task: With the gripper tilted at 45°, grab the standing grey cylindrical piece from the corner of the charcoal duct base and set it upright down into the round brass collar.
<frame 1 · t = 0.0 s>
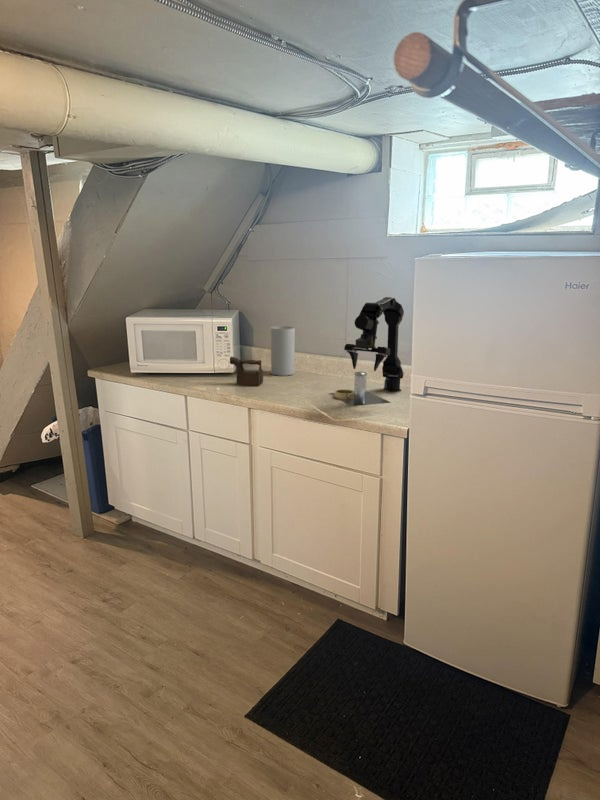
hand: (364, 370, 232), 15 cm above the counter, tool pointing down, fingers open, 9 cm apart
grey cylindrical piece: (359, 402, 237), point 1 cm above the counter, touching duct base
clothes iron: (248, 384, 275), on the counter
duct base: (358, 399, 246), on the counter
cylinder vase: (282, 374, 299), on the counter
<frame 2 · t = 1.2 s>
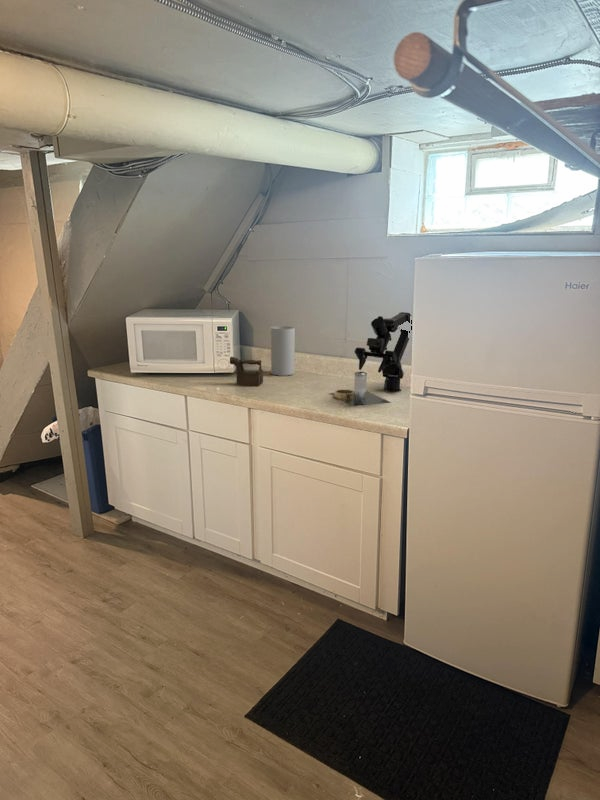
hand: (369, 370, 240), 14 cm above the counter, tool tilted 45°, fingers open, 9 cm apart
nothing on the counter moved.
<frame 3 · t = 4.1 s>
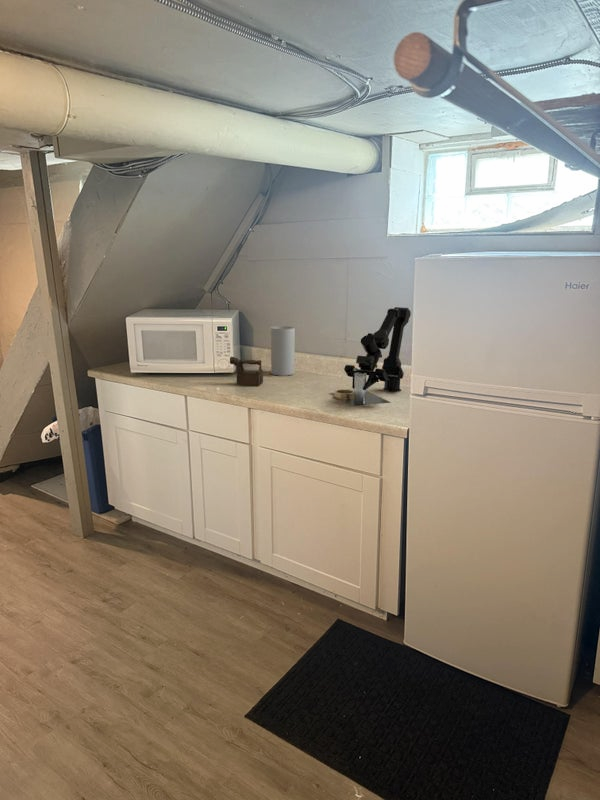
hand: (358, 389, 234), 7 cm above the counter, tool tilted 45°, fingers closed on grey cylindrical piece, 5 cm apart
grey cylindrical piece: (359, 402, 237), point 1 cm above the counter, touching duct base, gripper
everything else where it was.
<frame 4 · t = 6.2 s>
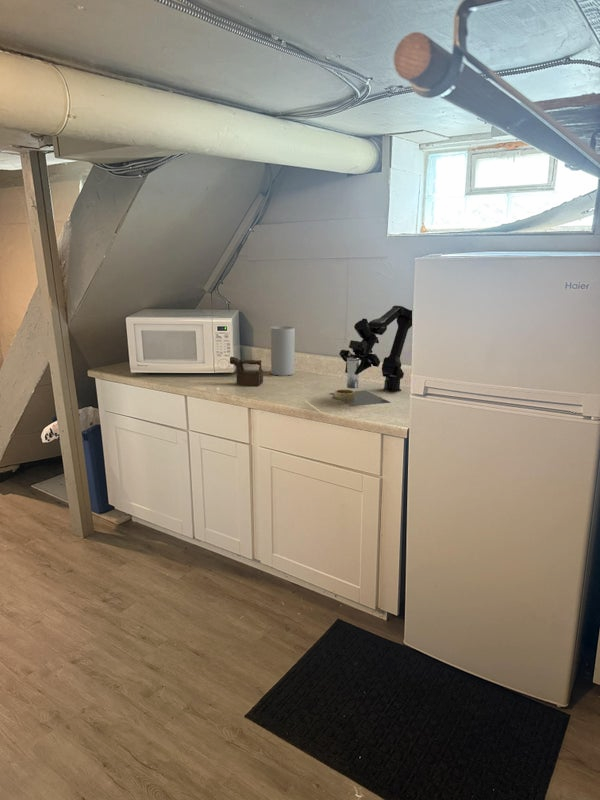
hand: (350, 373, 237), 13 cm above the counter, tool tilted 45°, fingers closed on grey cylindrical piece, 5 cm apart
grey cylindrical piece: (352, 387, 240), point 7 cm above the counter, touching gripper
everything else where it was.
when the fingers open (9 cm above the counter, at t = 8.6 s): grey cylindrical piece drops 2 cm, resting on duct base.
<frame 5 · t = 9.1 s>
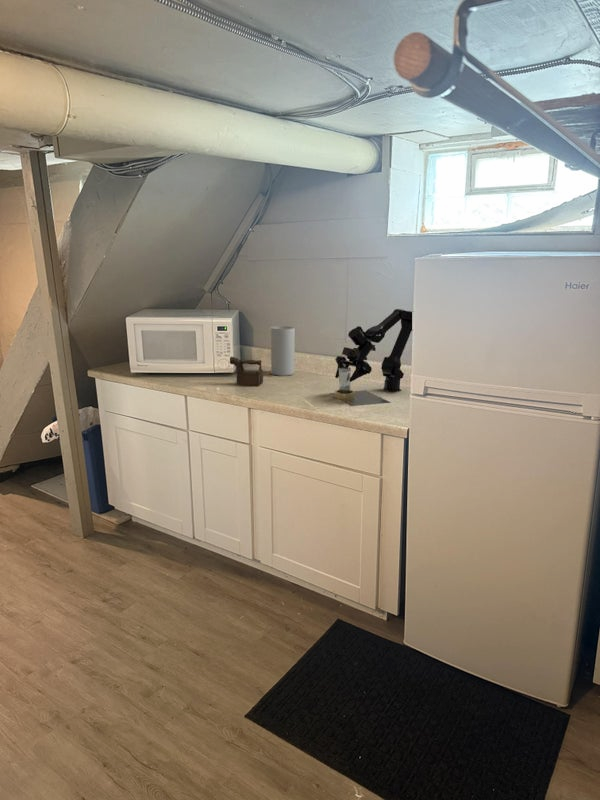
hand: (342, 379, 244), 9 cm above the counter, tool tilted 45°, fingers open, 9 cm apart
grey cylindrical piece: (344, 396, 246), point 1 cm above the counter, touching duct base
everything else where it was.
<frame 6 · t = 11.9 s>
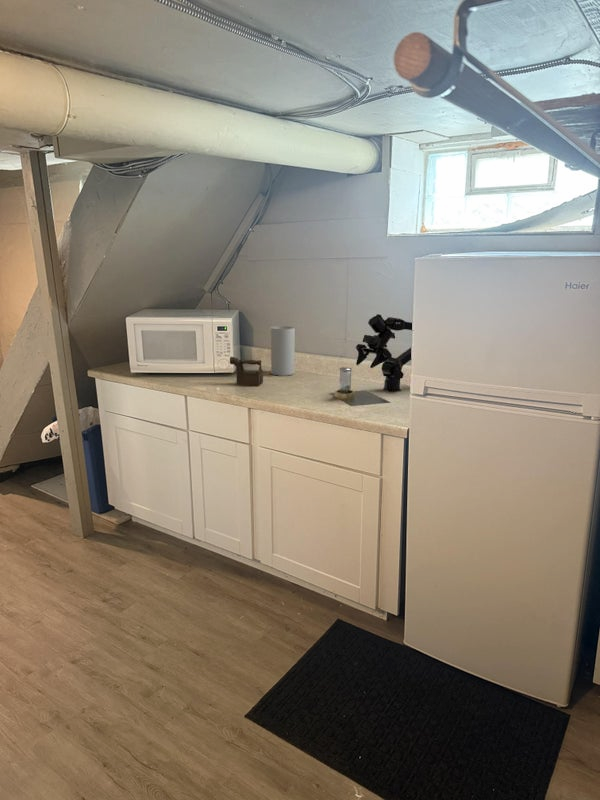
hand: (363, 366, 250), 14 cm above the counter, tool tilted 45°, fingers open, 9 cm apart
nothing on the counter moved.
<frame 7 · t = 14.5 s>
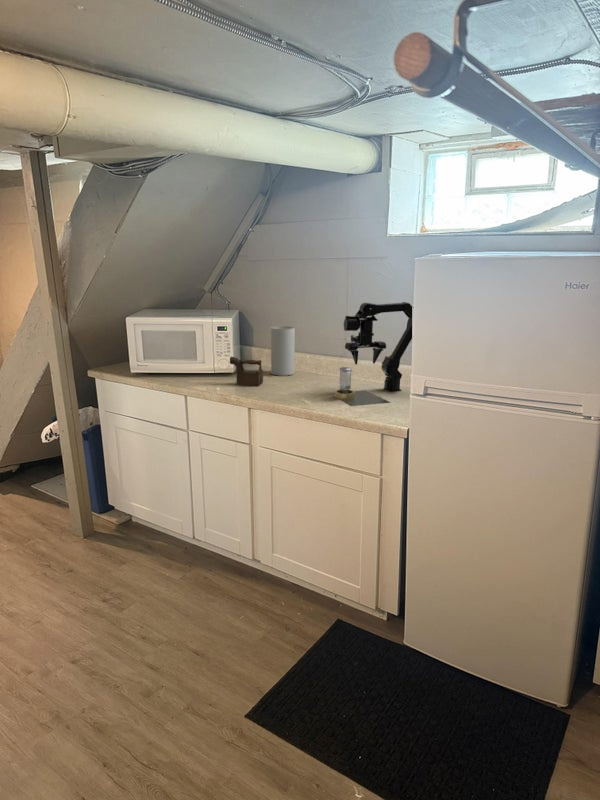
hand: (365, 364, 258), 13 cm above the counter, tool pointing down, fingers open, 9 cm apart
nothing on the counter moved.
at the end: grey cylindrical piece 0.1 cm from the target spot on the duct base, point 0.8 cm above the duct base's base; grey cylindrical piece tilted 0°; the gripper is holding nothing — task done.
